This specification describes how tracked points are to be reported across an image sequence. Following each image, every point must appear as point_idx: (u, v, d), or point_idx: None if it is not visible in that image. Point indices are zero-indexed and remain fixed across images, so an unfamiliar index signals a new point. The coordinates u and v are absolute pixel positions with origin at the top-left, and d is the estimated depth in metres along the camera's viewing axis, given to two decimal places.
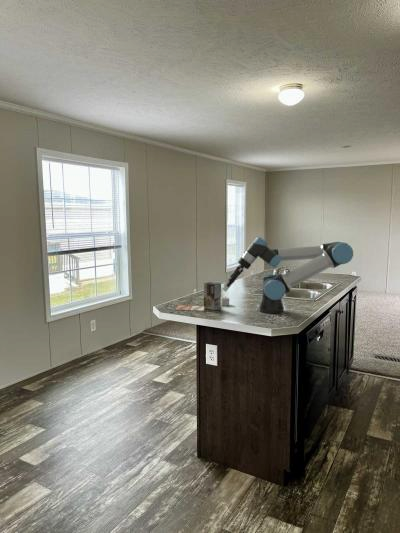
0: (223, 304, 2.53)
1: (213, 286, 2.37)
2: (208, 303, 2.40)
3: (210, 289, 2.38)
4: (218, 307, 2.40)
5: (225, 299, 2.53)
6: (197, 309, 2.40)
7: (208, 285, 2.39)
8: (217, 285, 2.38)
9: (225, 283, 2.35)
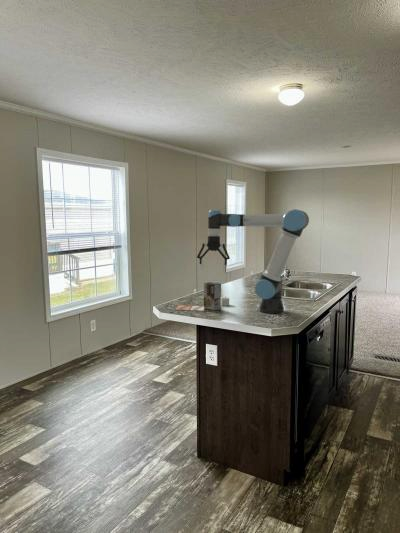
0: (223, 304, 2.53)
1: (213, 286, 2.37)
2: (208, 303, 2.40)
3: (210, 289, 2.38)
4: (218, 307, 2.40)
5: (225, 299, 2.53)
6: (197, 309, 2.40)
7: (208, 285, 2.39)
8: (217, 285, 2.38)
9: None
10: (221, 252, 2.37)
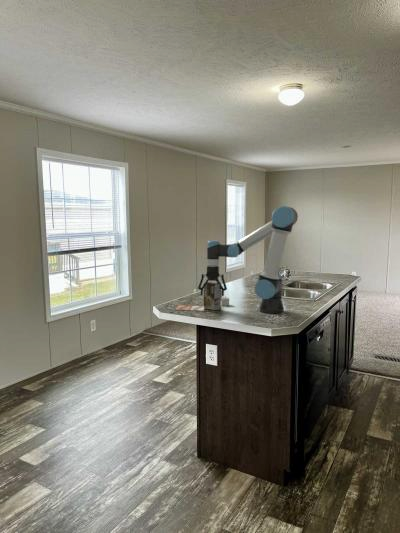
0: (223, 304, 2.53)
1: (213, 286, 2.37)
2: (208, 303, 2.40)
3: (210, 289, 2.38)
4: (218, 307, 2.40)
5: (225, 299, 2.53)
6: (197, 309, 2.40)
7: (208, 285, 2.39)
8: (217, 285, 2.38)
9: None
10: (219, 283, 2.39)
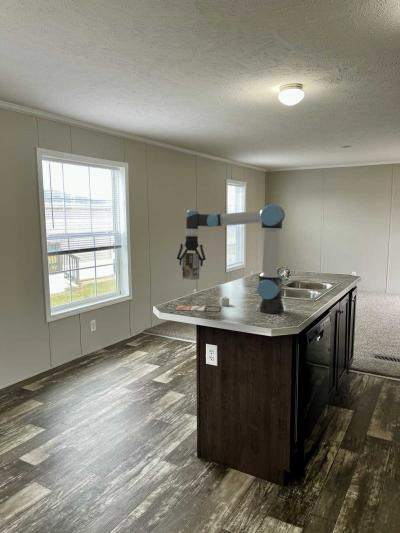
0: (223, 304, 2.53)
1: (191, 256, 2.36)
2: (186, 273, 2.40)
3: (189, 259, 2.38)
4: (196, 277, 2.40)
5: (225, 299, 2.53)
6: (197, 309, 2.40)
7: (187, 255, 2.39)
8: (196, 255, 2.37)
9: None
10: (198, 253, 2.39)
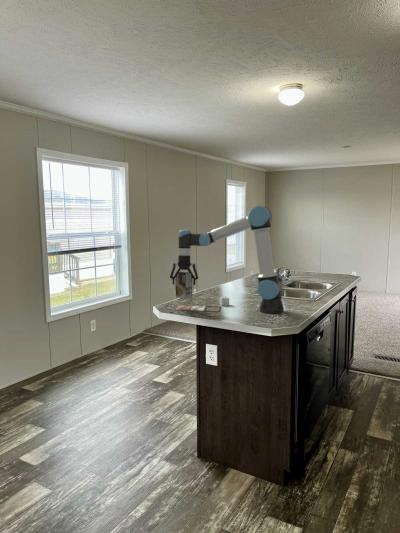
0: (223, 304, 2.53)
1: (184, 275, 2.38)
2: (180, 292, 2.42)
3: (182, 278, 2.39)
4: (190, 296, 2.42)
5: (225, 299, 2.53)
6: (197, 309, 2.40)
7: (179, 274, 2.40)
8: (188, 274, 2.39)
9: None
10: (190, 272, 2.41)
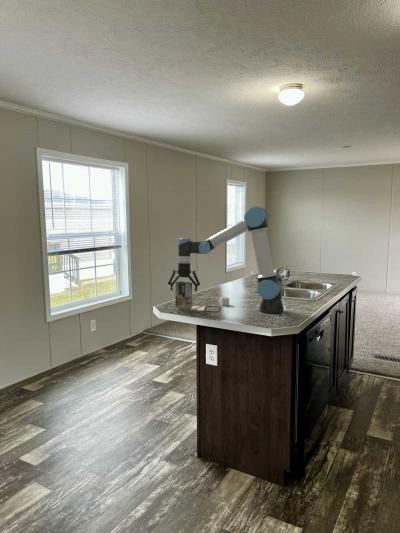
0: (223, 304, 2.53)
1: (184, 285, 2.39)
2: (179, 301, 2.42)
3: (181, 288, 2.40)
4: (189, 306, 2.42)
5: (225, 299, 2.53)
6: (197, 309, 2.40)
7: (179, 284, 2.41)
8: (188, 284, 2.40)
9: None
10: (191, 279, 2.41)
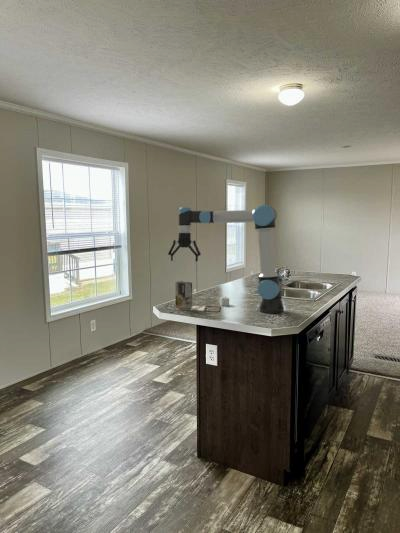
0: (223, 304, 2.53)
1: (184, 285, 2.39)
2: (179, 301, 2.42)
3: (181, 288, 2.40)
4: (189, 306, 2.42)
5: (225, 299, 2.53)
6: (197, 309, 2.40)
7: (179, 284, 2.41)
8: (188, 284, 2.40)
9: None
10: (192, 249, 2.39)
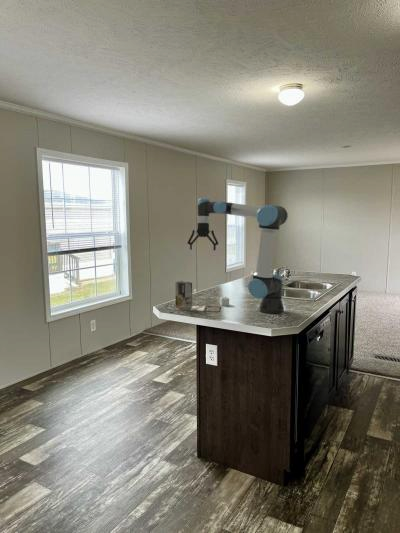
0: (223, 304, 2.53)
1: (184, 285, 2.39)
2: (179, 301, 2.42)
3: (181, 288, 2.40)
4: (189, 306, 2.42)
5: (225, 299, 2.53)
6: (197, 309, 2.40)
7: (179, 284, 2.41)
8: (188, 284, 2.40)
9: None
10: (210, 238, 2.51)
